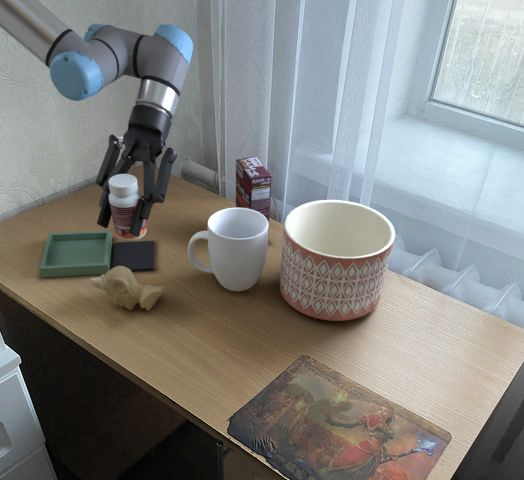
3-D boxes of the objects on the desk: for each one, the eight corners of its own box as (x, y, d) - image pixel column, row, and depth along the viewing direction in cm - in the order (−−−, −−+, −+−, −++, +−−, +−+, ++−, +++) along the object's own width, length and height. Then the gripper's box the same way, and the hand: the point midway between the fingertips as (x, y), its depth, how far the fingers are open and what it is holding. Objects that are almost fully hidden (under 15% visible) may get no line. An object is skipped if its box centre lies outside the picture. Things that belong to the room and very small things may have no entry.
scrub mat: (115, 244, 112) (114, 242, 112) (153, 242, 113) (153, 240, 113) (112, 272, 105) (112, 270, 105) (154, 270, 106) (153, 268, 106)
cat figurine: (153, 295, 91) (90, 264, 91) (142, 329, 94) (81, 299, 94) (171, 280, 98) (112, 251, 98) (159, 311, 101) (103, 284, 101)
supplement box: (234, 227, 119) (234, 158, 108) (254, 224, 120) (256, 155, 109) (247, 248, 113) (249, 177, 102) (269, 244, 115) (273, 174, 104)
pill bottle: (145, 242, 104) (138, 188, 96) (113, 242, 103) (103, 188, 95) (148, 224, 108) (141, 172, 100) (117, 224, 108) (107, 172, 100)
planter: (296, 334, 94) (304, 264, 84) (267, 271, 107) (271, 204, 97) (395, 318, 98) (414, 250, 88) (355, 260, 112) (368, 195, 101)
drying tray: (50, 241, 112) (48, 233, 110) (112, 239, 114) (110, 230, 112) (42, 277, 103) (39, 268, 102) (109, 273, 105) (107, 264, 103)
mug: (185, 296, 101) (181, 235, 92) (193, 262, 109) (190, 204, 100) (264, 300, 101) (267, 240, 92) (266, 266, 109) (269, 208, 100)
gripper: (205, 131, 102) (170, 247, 102) (118, 113, 107) (85, 224, 107) (191, 112, 95) (154, 237, 95) (99, 93, 99) (63, 212, 100)
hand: (117, 230), depth 101 cm, fingers closed on pill bottle, 6 cm apart
